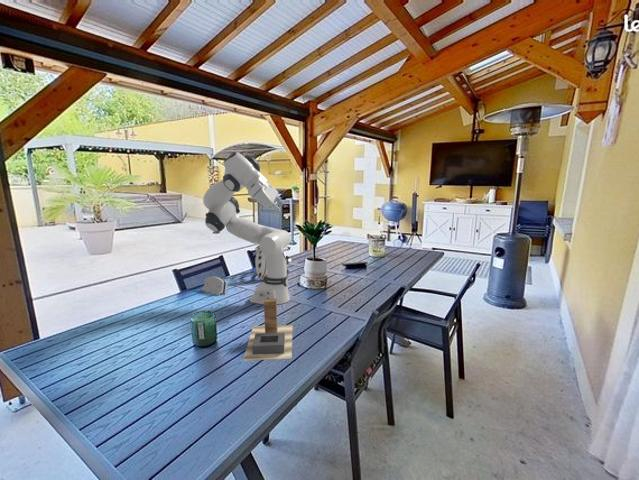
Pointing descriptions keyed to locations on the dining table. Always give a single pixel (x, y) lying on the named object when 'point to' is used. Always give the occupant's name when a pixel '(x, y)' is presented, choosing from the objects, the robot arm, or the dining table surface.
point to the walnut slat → (270, 315)
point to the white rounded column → (261, 262)
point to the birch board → (286, 355)
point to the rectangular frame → (268, 343)
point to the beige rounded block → (215, 285)
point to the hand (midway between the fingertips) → (281, 208)
